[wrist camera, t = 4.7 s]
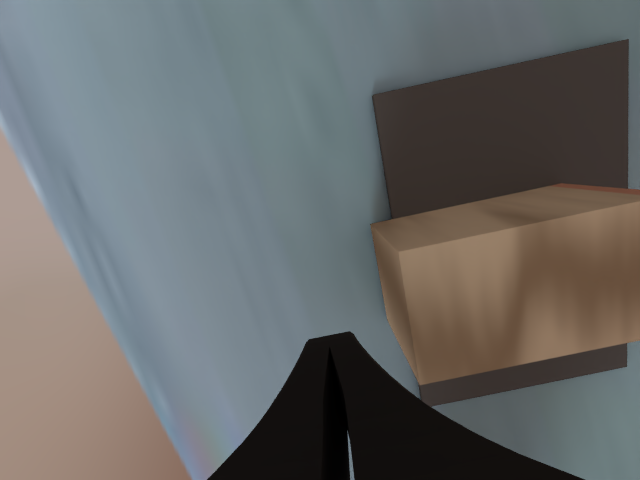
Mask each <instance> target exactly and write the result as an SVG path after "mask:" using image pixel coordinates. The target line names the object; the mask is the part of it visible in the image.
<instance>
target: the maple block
mask: <svg viewBox="0 0 640 480" xmlns="http://www.w3.org/2000/svg"><path fill="white" fill-rule="evenodd" d="M370 225H371V231H372V236H373V242H374V247H375V253H376V259H377V264H378V270H379V276H380V281H381V287H382V292H383V298H384V304H385V309H386V315H387V320H388V322H389V324H390V326H391V328H392V330H393V332H394V334H395V336H396V338H397V340H398V342H399V344H400V346H401V348H402V350H403V352H404V354H405V356H406V358H407V360H408V363H409V365H410V367H411V369H412V371H413V373H414V375H415V377H416V379H417V381H418V383H419V385H424V384H428V383H433V382H438V381H443V380H448V379H453V378H458V377H463V376H468V375H473V374H477V373H482V372H487V371H492V370H497V369H502V368H507V367H512V366H517V365H521V364H526V363H531V362H536V361H541V360H546V359H551V358H556V357H561V356H566V355H570V354H575V353H580V352H585V351H590V350H595V349H600V348H605V347H610V346H614V345H619V344H624V343H629V342H634V341H639V340H640V190H636V189H624V188H612V187H600V186H587V185H575V184H563V183H561V184H556V185H551V186H547V187H542V188H537V189H533V190H528V191H523V192H518V193H514V194H509V195H504V196H500V197H495V198H490V199H485V200H481V201H476V202H471V203H467V204H462V205H457V206H453V207H448V208H443V209H438V210H434V211H429V212H424V213H420V214H415V215H410V216H405V217H401V218H396V219H391V220H387V221H382V222H377V223H372V224H370Z"/></svg>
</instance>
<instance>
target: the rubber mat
mask: <svg viewBox="0 0 640 480" xmlns="http://www.w3.org/2000/svg"><path fill="white" fill-rule="evenodd" d="M628 51H629V39H627V40H622V41H618V42H613V43H608V44H604V45H599V46H595V47H590V48H585V49H581V50H576V51H572V52H567V53H563V54H558V55H553V56H549V57H544V58H540V59H535V60H531V61H526V62H521V63H517V64H512V65H508V66H503V67H498V68H494V69H489V70H485V71H480V72H476V73H471V74H466V75H462V76H457V77H453V78H448V79H444V80H439V81H434V82H430V83H425V84H421V85H416V86H411V87H407V88H402V89H398V90H393V91H389V92H384V93H379V94H375V95H373V96H372V99H373V105H374V112H375V118H376V124H377V130H378V136H379V142H380V149H381V155H382V161H383V167H384V173H385V180H386V186H387V192H388V198H389V204H390V210H391V217H392V219H396V218H401V217H405V216H410V215H415V214H420V213H424V212H429V211H434V210H438V209H443V208H448V207H453V206H457V205H462V204H467V203H471V202H476V201H481V200H485V199H490V198H495V197H500V196H504V195H509V194H514V193H518V192H523V191H528V190H533V189H537V188H542V187H547V186H551V185H556V184H561V183H563V184H575V185H587V186H600V187H612V188H624V189H628ZM623 367H627V343H624V344H619V345H614V346H610V347H605V348H600V349H595V350H590V351H585V352H580V353H575V354H570V355H566V356H561V357H556V358H551V359H546V360H541V361H536V362H531V363H526V364H521V365H517V366H512V367H507V368H502V369H497V370H492V371H487V372H482V373H477V374H473V375H468V376H463V377H458V378H453V379H448V380H443V381H438V382H433V383H428V384H424V385H419V390H420V396H421V400H422V401H423V402H424V403H426V404H427V405H429V406H430V407H431V406H436V405H441V404H446V403H450V402H455V401H460V400H465V399H470V398H475V397H480V396H485V395H490V394H495V393H500V392H505V391H510V390H514V389H519V388H524V387H529V386H534V385H539V384H544V383H549V382H554V381H559V380H564V379H569V378H574V377H578V376H583V375H588V374H593V373H598V372H603V371H608V370H613V369H618V368H623ZM418 384H419V383H418Z"/></svg>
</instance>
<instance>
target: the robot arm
mask: <svg viewBox="0 0 640 480" xmlns="http://www.w3.org/2000/svg"><path fill="white" fill-rule="evenodd" d="M347 430H348V434H349V438H350V444H351V452H352V460H353V469H354V478H355V480H584V479H582V478H579V477H577V476H574V475H572V474H569V473H566V472H564V471H561V470H559V469H556V468H554V467H551V466H548V465H546V464H543V463H541V462H538V461H536V460H533V459H531V458H528V457H525V456H523V455H521V454H518V453H516V452H514V451H512V450H510V449H507V448H505V447H503V446H501V445H499V444H497V443H495V442H492V441H490V440H488V439H486V438H484V437H482V436H480V435H478V434H476V433H474V432H472V431H470V430H469V429H467V428H465V427H463V426H462V425H460V424H458V423H456V422H455V421H453V420H451V419H449V418H447V417H446V416H444V415H442V414H441V413H439V412H438V411H436V410H435V409H433V408H432V407H430V406H429V405H427V404H426V403H424V402H423V401H422V400H420V399H419V398H417V397H416V396H415V395H413V394H412V393H411V392H409V391H408V390H407V389H406V388H404V387H403V386H402V385H401V384H400V383H398V382H397V381H396V380H395V379H394V378H393V377H391V376H390V375H389V374H388V373H387V372H386V371H385V370H384V369H383V368H382V367H381V366H380V365H379V364H378V363H377V362H376V361H375V360H374V359H373V358H372V357H371V356H370V355H369V354H368V353H367V351H366V350H365V349H364V348H363V347H362V345H361V344H360V343H359V341H358V340H357V339H356V337H355V335H354V334H353V333H351V332H350V331H349V332H344V333H339V334H334V335H329V336H323V337H318V338H313V339H309V340H308V341H307V342H306V344H305V346H304V348H303V351H302V353H301V355H300V357H299V359H298V361H297V363H296V365H295V367H294V368H293V370H292V372H291V374H290V376H289V377H288V379H287V381H286V383H285V384H284V386H283V388H282V389H281V391H280V392H279V394H278V395H277V397H276V399H275V400H274V402H273V403H272V405H271V406H270V408H269V409H268V411H267V412H266V413H265V415H264V416H263V418H262V419H261V420H260V422H259V423H258V424H257V426H256V427H255V428H254V429H253V431H252V432H251V433H250V434H249V435H248V437H247V438H246V439H245V440H244V441H243V443H242V444H241V445H240V446H239V447H238V448H237V449H236V450H235V451H234V452H233V453H232V454H231V455H230V456H229V457H228V458H227V460H226V461H225V462H224V463H223V464H222V465H221V466H220V467H219V468H218V469H217V470H216V471H215V472H214V473H213V474H212V475H211V476H210V477H209V478H208V479H207V480H350V470H349V452H348V435H347Z"/></svg>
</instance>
